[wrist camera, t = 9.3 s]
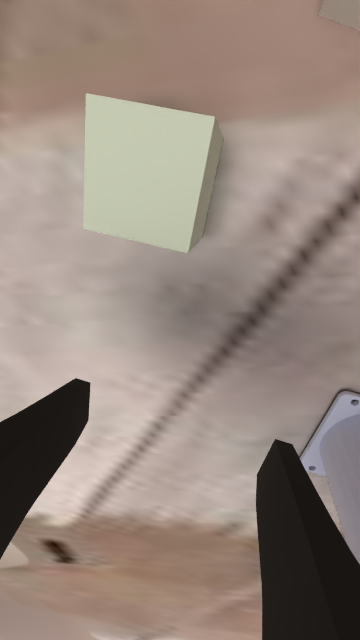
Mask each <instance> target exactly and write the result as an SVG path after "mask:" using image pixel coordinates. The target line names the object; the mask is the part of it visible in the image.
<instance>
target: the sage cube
mask: <svg viewBox="0 0 360 640" xmlns="http://www.w3.org/2000/svg"><path fill="white" fill-rule="evenodd" d="M222 144H223V137H222V134H221V131H220V129H219V126H218V123H217V121H216V118H215V117H213V116H208V115H202V114H197V113H191V112H186V111H180V110H175V109H169V108H164V107H158V106H153V105H147V104H142V103H136V102H131V101H125V100H120V99H114V98H109V97H103V96H98V95H92V94H87V93H86V119H85V167H84V216H83V229H86V230H90V231H94V232H99V233H103V234H107V235H111V236H116V237H120V238H124V239H128V240H133V241H137V242H141V243H145V244H149V245H154V246H158V247H162V248H166V249H171V250H175V251H179V252H183V253H189V252H190V251H191V250H192V248H193V247H194V246H195V245H196V244H197V243H198V242H199V240H200V239H201V238H202V237H203V232H204V228H205V223H206V218H207V214H208V209H209V204H210V200H211V195H212V191H213V186H214V181H215V177H216V172H217V168H218V163H219V158H220V154H221V149H222Z"/></svg>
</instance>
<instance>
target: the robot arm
mask: <svg viewBox="0 0 360 640" xmlns="http://www.w3.org/2000/svg"><path fill="white" fill-rule="evenodd" d="M89 398H90V382H86V381H83V380H80V379H74V380H72V381H70V382H69V383H67V384H65V385H64V386H62V387H60V388H59V389H57V390H56V391H54V392H52V393H51V394H49V395H47V396H46V397H44V398H42V399H41V400H39V401H37V402H36V403H34V404H32V405H30V406H29V407H27V408H25V409H24V410H22V411H20V412H18V413H17V414H15V415H13V416H11V417H9V418H7V419H5V420H3V421H2V422H0V559H1V557H2V555H3V553H4V552H5V550H6V548H7V546H8V545H9V543H10V541H11V540H12V538H13V536H14V535H15V533H16V531H17V529H18V528H19V526H20V524H21V523H22V521H23V519H24V518H25V516H26V514H27V513H28V511H29V510H30V508H31V507H32V505H33V504H34V502H35V501H36V499H37V498H38V496H39V495H40V494H41V492H42V491H43V489H44V488H45V487H46V485H47V484H48V482H49V481H50V479H51V478H52V477H53V475H54V474H55V472H56V471H57V470H58V468H59V467H60V465H61V464H62V463H63V461H64V460H65V458H66V457H67V455H68V454H69V452H70V451H71V450H72V448H73V447H74V445H75V444H76V442H77V440H78V438H79V436H80V435H81V433H82V431H83V429H84V427H85V425H86V424H87V422H88V417H89ZM354 399H355V400H356V401H354V402H351V401H352V400H354ZM306 471H309V472H312V473H315V474H319V475H322V476H325V477H327V480H328V484H329V487H330V491H331V494H332V497H333V501H334V504H335V508H336V511H337V515H338V518H339V521H340V525H341V528H342V532H343V535H344V538H343V537H342V535H341V533H340V532H339V530H338V528H337V527H336V525H335V523H334V521H333V520H332V518H331V516H330V514H329V513H328V511H327V509H326V507H325V505H324V504H323V502H322V500H321V498H320V496H319V495H318V493H317V491H316V489H315V487H314V485H313V483H312V481H311V480H310V478H309V476H308V474H307V472H306ZM256 512H257V526H258V540H259V553H260V567H261V580H262V640H360V394H356V393H353V392H349V391H343V392H341V393H339V394H338V396H337V398H336V399H335V401H334V402H333V404H332V406H331V407H330V409H329V411H328V412H327V414H326V416H325V417H324V419H323V421H322V422H321V424H320V426H319V427H318V429H317V431H316V432H315V434H314V436H313V437H312V439H311V441H310V442H309V444H308V446H307V447H306V449H305V451H304V452H303V454H302V455H301V457H300V458H299V456H298V454H297V452H296V450H295V449H294V447H293V445H292V444H290V443H286V442H283V441H280V440H276V439H275V441H274V443H273V444H272V446H271V448H270V450H269V452H268V454H267V456H266V458H265V460H264V462H263V464H262V466H261V468H260V470H259V472H258V474H257V489H256ZM344 539H345V540H344Z"/></svg>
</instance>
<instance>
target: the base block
mask: <svg viewBox="0 0 360 640" xmlns="http://www.w3.org/2000/svg"><path fill="white" fill-rule="evenodd" d="M318 16H320V17H323V18H326V19H329V20H331V21H334V22H337V23H340V24H342V25H345V26H348V27H350V28H353V29H356V30H359V31H360V0H324V1H323V4H322V6H321V8H320V11H319V13H318Z"/></svg>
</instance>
